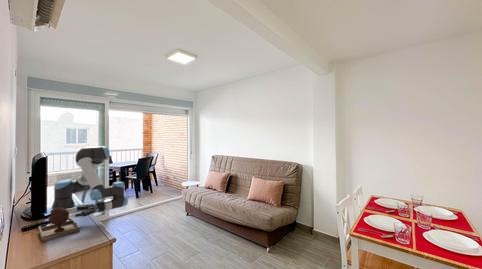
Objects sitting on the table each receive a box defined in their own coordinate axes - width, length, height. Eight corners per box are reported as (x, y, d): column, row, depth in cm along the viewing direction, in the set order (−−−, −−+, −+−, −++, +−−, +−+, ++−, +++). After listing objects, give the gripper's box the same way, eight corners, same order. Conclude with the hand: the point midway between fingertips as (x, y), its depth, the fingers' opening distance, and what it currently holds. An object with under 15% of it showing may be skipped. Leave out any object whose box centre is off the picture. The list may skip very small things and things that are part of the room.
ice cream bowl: (57, 235, 129) (57, 211, 129) (43, 233, 131) (43, 209, 131) (74, 227, 139) (74, 205, 139) (61, 225, 142) (61, 203, 142)
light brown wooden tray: (39, 232, 134) (38, 227, 134) (73, 223, 148) (73, 219, 148) (42, 242, 123) (42, 237, 123) (79, 231, 136) (79, 226, 136)
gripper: (109, 215, 145) (70, 225, 129) (99, 206, 162) (63, 214, 146) (109, 204, 145) (70, 213, 129) (99, 197, 162) (63, 204, 146)
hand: (66, 214), depth 138 cm, fingers open, 13 cm apart
